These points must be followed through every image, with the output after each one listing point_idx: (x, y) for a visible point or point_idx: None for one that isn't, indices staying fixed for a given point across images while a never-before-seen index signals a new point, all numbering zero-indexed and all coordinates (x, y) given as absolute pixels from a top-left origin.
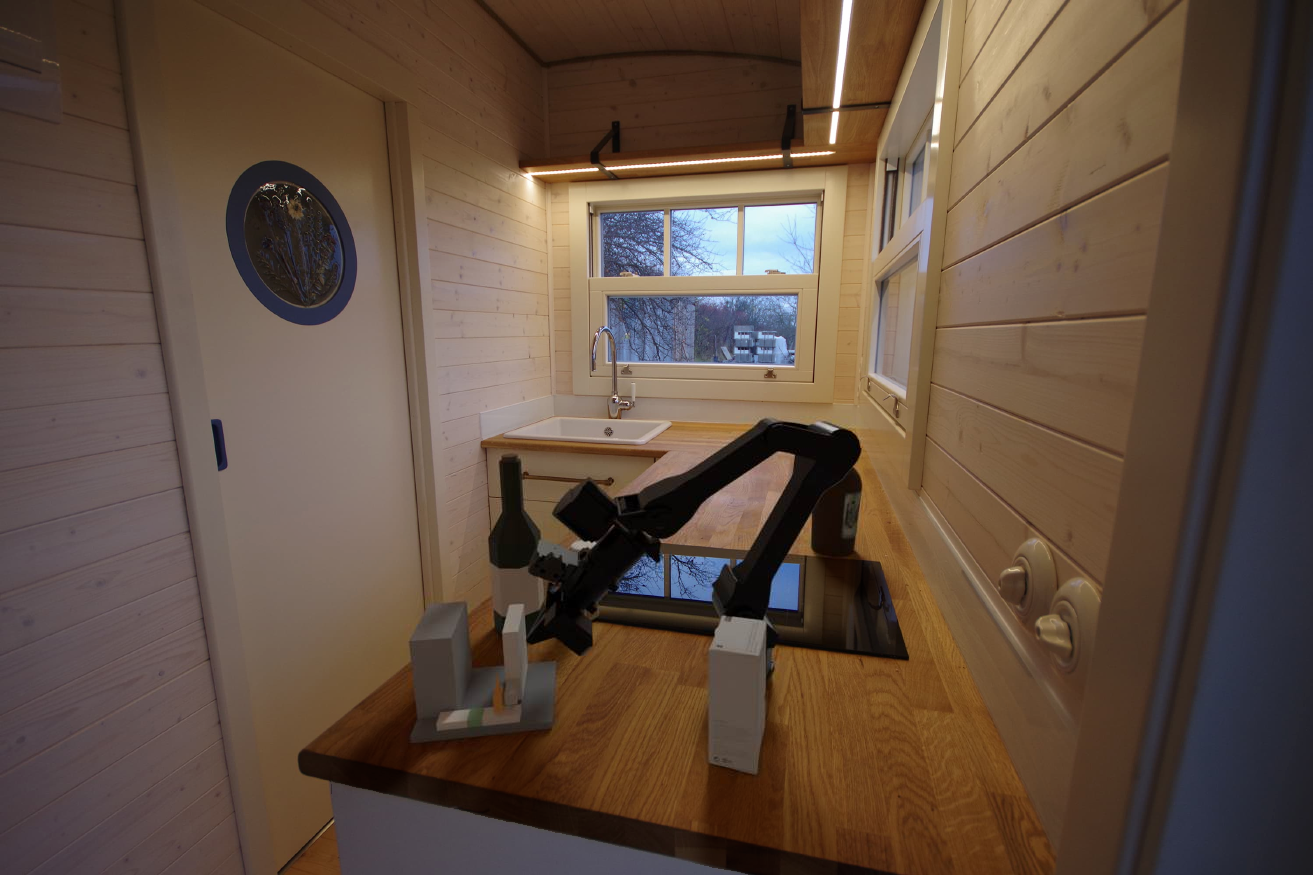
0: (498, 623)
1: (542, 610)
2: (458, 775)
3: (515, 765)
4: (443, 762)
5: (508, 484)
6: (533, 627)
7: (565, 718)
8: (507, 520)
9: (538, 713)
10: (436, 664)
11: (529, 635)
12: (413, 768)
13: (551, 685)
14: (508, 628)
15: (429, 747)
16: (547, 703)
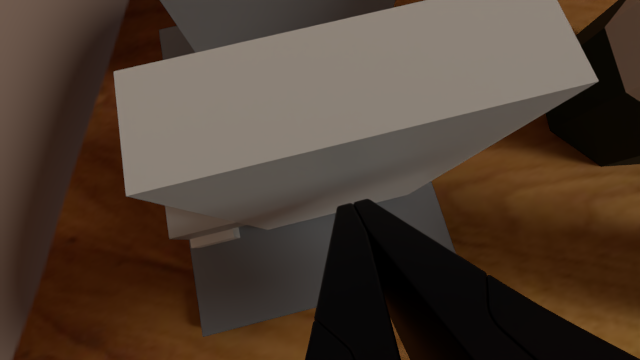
0: (584, 35)
1: (524, 319)
2: (84, 166)
3: (101, 276)
4: (118, 122)
5: None
6: (378, 243)
7: (248, 356)
8: None
9: (233, 287)
10: None
11: (335, 228)
12: (107, 76)
13: None
14: (175, 96)
15: None
16: (272, 300)
